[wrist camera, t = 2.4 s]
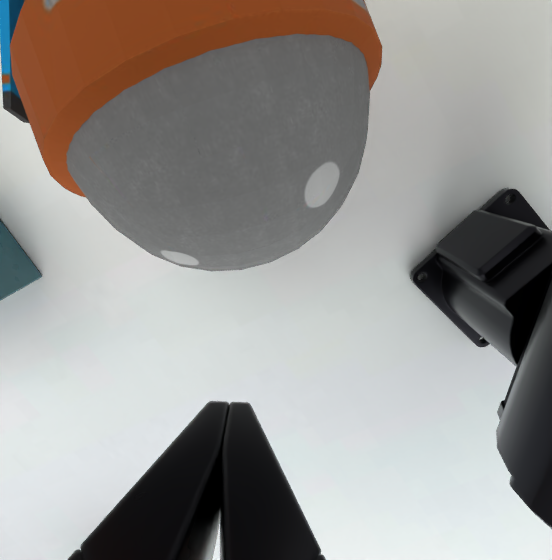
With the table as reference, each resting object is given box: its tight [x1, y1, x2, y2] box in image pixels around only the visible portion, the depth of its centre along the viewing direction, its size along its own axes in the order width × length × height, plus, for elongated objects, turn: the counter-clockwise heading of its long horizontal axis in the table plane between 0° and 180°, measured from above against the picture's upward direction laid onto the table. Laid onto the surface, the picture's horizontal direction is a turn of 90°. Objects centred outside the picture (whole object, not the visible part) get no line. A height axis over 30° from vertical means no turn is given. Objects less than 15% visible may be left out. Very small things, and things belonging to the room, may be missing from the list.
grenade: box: [0, 0, 382, 271], centre depth 11 cm, size 11×10×15 cm
